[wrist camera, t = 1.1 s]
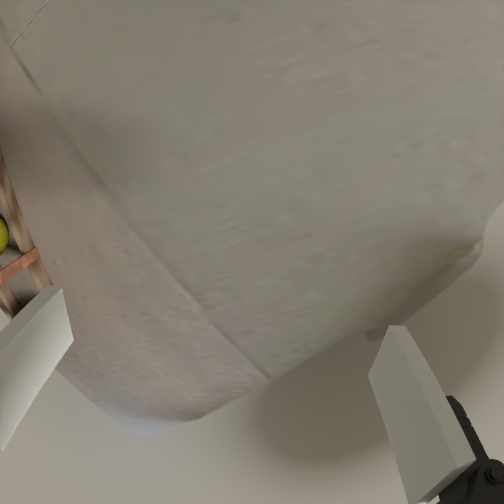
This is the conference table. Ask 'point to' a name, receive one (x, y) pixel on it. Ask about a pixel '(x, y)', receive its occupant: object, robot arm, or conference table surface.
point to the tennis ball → (3, 236)
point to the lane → (30, 256)
